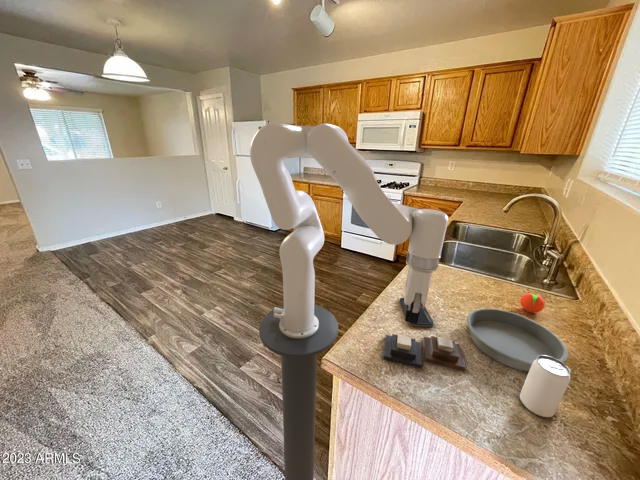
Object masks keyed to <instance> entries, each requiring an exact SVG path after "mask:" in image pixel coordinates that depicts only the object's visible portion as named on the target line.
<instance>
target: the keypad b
mask: <svg viewBox="0 0 640 480" xmlns="http://www.w3.org/2000/svg"><path fill="white" fill-rule="evenodd" d="M437 338H438V336H434V335H430V337H427V336H423V338H422V342H423V343H422V344H423V356H424V362H426V363H430V364H434V365H438V366H444V367H447V368H451V369H456V370H460V371H466V363H465V359H464V356H463V351H462V348H461V345H460V343H456V340H454V339H451V340H452V344H453V351H452V352H447V351H443V350H438V346H437Z"/></svg>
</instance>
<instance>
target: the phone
mask: <svg viewBox="0 0 640 480" xmlns="http://www.w3.org/2000/svg"><path fill="white" fill-rule="evenodd" d="M399 303H400V306H401V308H402V311H403V313H404V315H405V314H406V309H407V306H408V305H406V304H405V303H404V297H400V298H399ZM407 323H408V325H410V326H412V327H424V328H426V327H427V328H432V327H433V326H434V321H433V319H432V317H431V315H430V314H429V312H428V310H427V308H426V306H425V307H424V308H422V307H421V306H420V313H419V318H418V323H417V324H414V323H410V322H407Z"/></svg>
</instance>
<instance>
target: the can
mask: <svg viewBox="0 0 640 480" xmlns="http://www.w3.org/2000/svg"><path fill="white" fill-rule="evenodd" d="M571 373H572V372H571V369H570V368H569V366H567V364H565V362H564V363H562V362H561V361H559V360H557V359H555V358H553V357H550V356H545V355H541V356H538V357H537V359H536V360H534V361H533V363H532V365H531V368H530V370H529V372H527V375H526V378H525V379H524V380H525V381H524V383H523V386H522V388H521V391H520V394H519V399H520V402H521V403H522V404H523V406H524V407H525V408H526V409H527V410H529V411H530V412H531V413H533V414H534V415H537V416H539V417H542V418H552V417H554V415H555V414H556V412H557V410H558V408H559V406H560V403H561V402H562V400H563V398H564V396H565V394H566V391H567V389H568V388H569V385H570V383H571Z"/></svg>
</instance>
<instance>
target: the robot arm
mask: <svg viewBox="0 0 640 480" xmlns="http://www.w3.org/2000/svg"><path fill="white" fill-rule="evenodd" d="M249 158H250V162H251V166H252V169H253V171H254V173H255V176H256V178H257V181H258V182H259V185H260V188H261V190H262V194H263V197H264V200H265V203H266V206H267V209H268V211H269V214H270V216H271V219H272V222H273V223H274V224H275V226H276V227H277V228H278V229H280V230H284V231H287V230H292V229H293V231H292V232H290V233H289V234H288V235H287V236H286V237H285V238H284V239H283V240H282V242H281V244H280V246H279V250H278V251H279V259H280V263H281V269H282V285H283V287H282V288H283V290H282V291H283V305H284V309H280V308H277V307H278V306H277V307H276V306H274V308H273V309H274V310H273V309H272V310H273V313H274V316H273V317H274V318H280V323H279V327H280V330H281V332H282V333H283V334H284V335H286V336H288V337H291V338H297V339H299V338H306V337H309V336H311V335H313V334H314V333H315V332H316V331H317V330H318V327H319V321H318V319H317V317H316V316H315V315H314V305H315V295H316V294H315V293H316V291H315V290H316V272H315V271H316V270H315V268H314V258H315V257H316V255H317V254H318V253H319V251H320V250H322V248H323V246H324V244H325V232H324V229H323V226H322V222H321V220H320V216H319V213H318V210H317V207H316V205H315V202H314V200H313V199H312V197H311V196H310V195H309V194H308V193H307V192H306V191H303V190H300V189H299V190H297V189H296V188H295V186H294V181H293V178H292V176H291V173H290V171H288V169H287V167H286V166H285V164H284V160H285V159H293V158H294V159H295V158H296V159H297V158H302V159H314V160H315V161H316V162H317V163H318V164H319V165H320V166H321V168H322V169H323V170H324V171H325V172H326V173H327V174H328V175H329V176H330V177H331V179H332V180H333V181H334V182H335V183H336V184H337V185H338V186H339V187H340V188H341V190H342V191H343V192H344V194H345V196H346V197H347V200H348V201H349V203H350V204H351V205H352V207H353V209H354V210H355V212H356V213H357V215H358V216H359V218H360V219H361V221H363V223H364V224H365V225H366V226H367V227H368V229H370V230H371V231H372V233H374V235H375V236H376V237H378V239H380V240H381V241H382V242H384V243H386V244H387V245H393V246H396V245H401V244H403V243H405V242H406V241H407V240H408V239H409V242H408V247H407V248H408V249H407V254H406V259H405V264H406V265H407V267H408V269H407V275H406V279H405V284H404V293H403V294H404V295H403V298H404V303H405V304H406V305H408V306H407V309H406V314H405V313H404V321H405V322H406V323H408V322H410V323H414V324H417V323H418V318H419V313H420V306H421V307H422V308H424V307H425V308H426V304H427V300H428V295H429V290H430V287H431V286H430V285H431V281H432V275H433V273H434V272H435V271H438V269H439V265H440V261H441V256H442V250H443V247H444V242H445V236H446V233H447V228H448V224H449V216H448V214H446V212H443V211H441V210H438V209H431V208H430V209H429V208H417V207H412V206H409V205H405V204H400V203H399V204H398V203H395V204H394V202H392V200H391V199H390V198H389V197H388V196H387V194H386V193H385V192H384V191H383V189H382V188H381V186H380V185H379V183H378V181H377V178H376V175H375V173H374V170H373V169H372V167H371V165H370V164H369V163H368V162H367V160H365V158H364V157H363V156H362V155H361V154H360V153H359V152H358V151H357V149H355V148H354V146H353V145H352V144H351V143H350V142H349V138H348V135H347V133H346V132H345V130H344V129H343V128H342V127H340V126H339V125H338V126H337V125H334V124H331V123H320V124H317V125H296V124H295V125H294V124H289V123H288V124H287V123H284V122H271V123H268V124H265V125H263V126H262V127H260V128H259V129H258V130H257V131H256V132H255V134H254V135H253V137H252V140H251V142H250V147H249ZM280 314H281V315H280Z"/></svg>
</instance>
